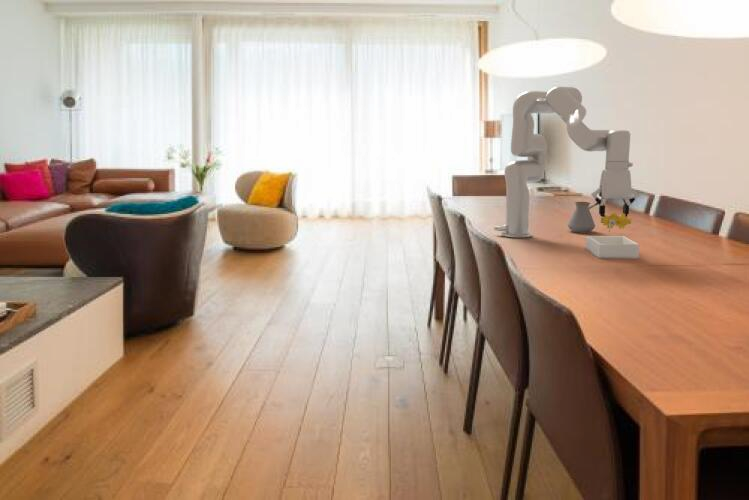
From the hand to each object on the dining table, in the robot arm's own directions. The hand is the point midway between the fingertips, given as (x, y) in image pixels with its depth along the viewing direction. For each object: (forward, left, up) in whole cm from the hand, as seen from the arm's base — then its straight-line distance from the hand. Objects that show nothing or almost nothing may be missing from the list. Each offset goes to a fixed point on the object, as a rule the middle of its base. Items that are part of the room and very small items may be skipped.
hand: (613, 216), depth 218 cm
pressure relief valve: (-1, -5, -4) cm, 7 cm away
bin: (0, 0, -14) cm, 14 cm away
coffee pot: (+6, +52, -14) cm, 54 cm away
